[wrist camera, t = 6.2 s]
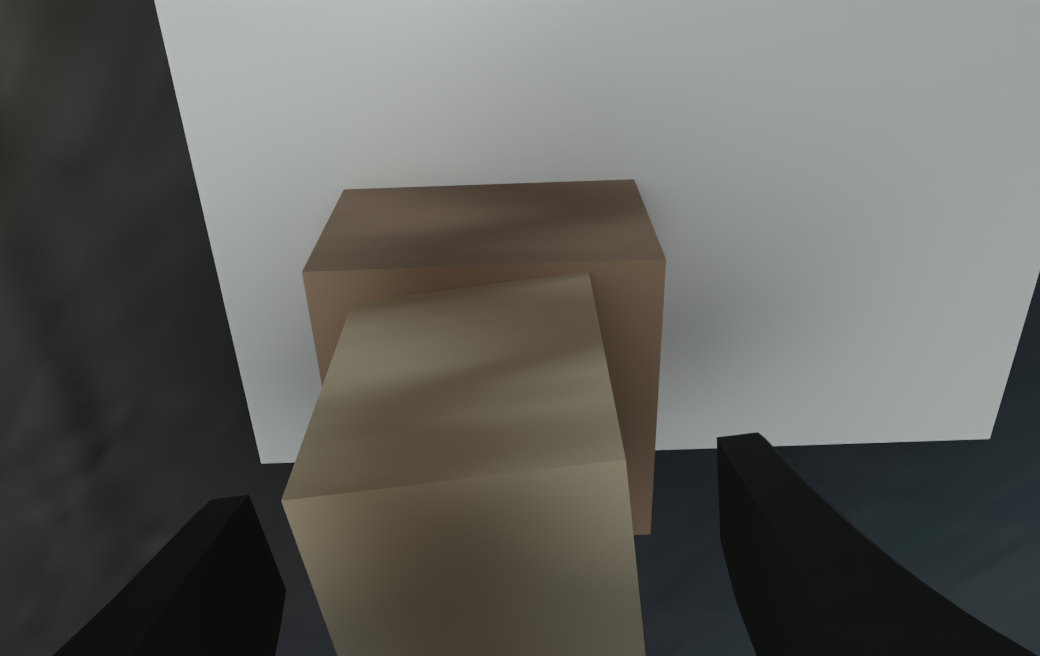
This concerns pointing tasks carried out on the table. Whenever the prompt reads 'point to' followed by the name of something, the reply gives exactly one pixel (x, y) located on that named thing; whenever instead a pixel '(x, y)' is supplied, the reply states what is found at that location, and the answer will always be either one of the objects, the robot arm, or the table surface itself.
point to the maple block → (470, 479)
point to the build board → (657, 183)
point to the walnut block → (509, 274)
